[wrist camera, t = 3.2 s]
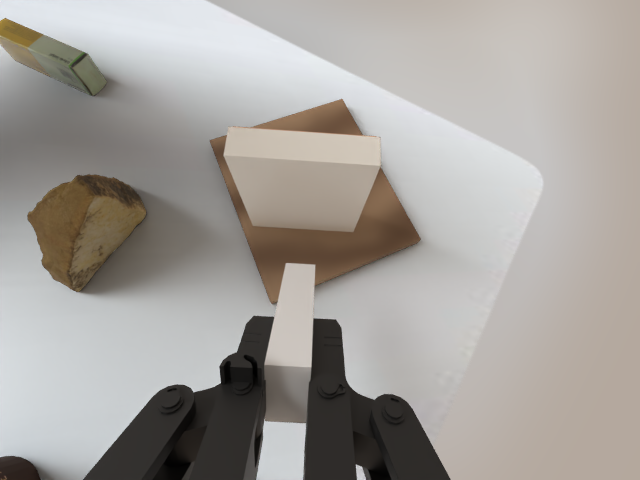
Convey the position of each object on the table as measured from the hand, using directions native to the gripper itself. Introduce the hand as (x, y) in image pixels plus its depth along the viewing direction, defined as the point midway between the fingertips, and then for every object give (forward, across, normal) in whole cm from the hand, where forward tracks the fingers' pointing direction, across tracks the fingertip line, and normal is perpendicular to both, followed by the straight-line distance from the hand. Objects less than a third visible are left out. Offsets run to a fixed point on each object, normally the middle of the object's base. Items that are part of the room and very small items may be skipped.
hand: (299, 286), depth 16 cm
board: (+19, 0, -1) cm, 19 cm away
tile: (+16, 0, -2) cm, 16 cm away
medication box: (+29, -31, +9) cm, 44 cm away
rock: (+15, -20, -6) cm, 26 cm away
